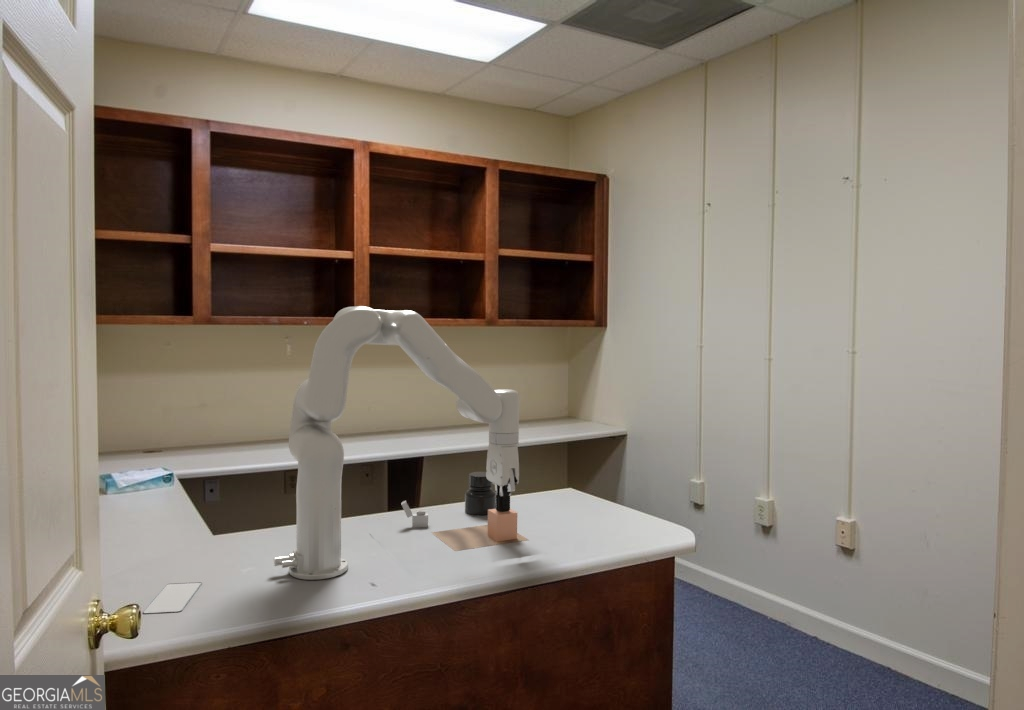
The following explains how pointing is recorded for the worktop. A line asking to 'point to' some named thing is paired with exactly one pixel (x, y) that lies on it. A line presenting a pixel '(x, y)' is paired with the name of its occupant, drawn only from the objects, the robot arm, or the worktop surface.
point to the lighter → (416, 516)
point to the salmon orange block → (502, 525)
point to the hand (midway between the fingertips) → (502, 510)
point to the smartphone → (173, 598)
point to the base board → (471, 538)
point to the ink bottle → (479, 495)
